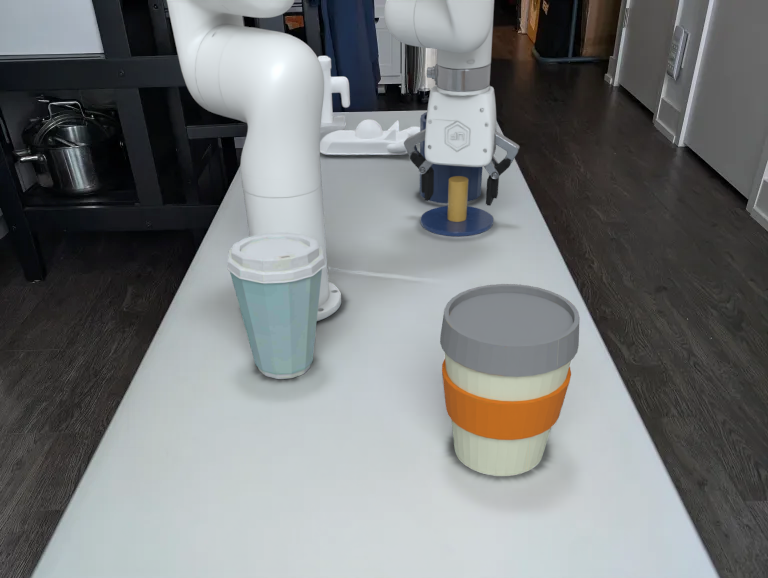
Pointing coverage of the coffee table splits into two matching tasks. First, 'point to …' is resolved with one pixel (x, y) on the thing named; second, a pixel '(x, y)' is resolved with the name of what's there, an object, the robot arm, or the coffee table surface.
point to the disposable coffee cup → (278, 298)
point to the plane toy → (367, 140)
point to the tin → (450, 175)
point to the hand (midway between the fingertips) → (459, 200)
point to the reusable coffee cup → (506, 373)
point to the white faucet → (331, 86)
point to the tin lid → (457, 213)
